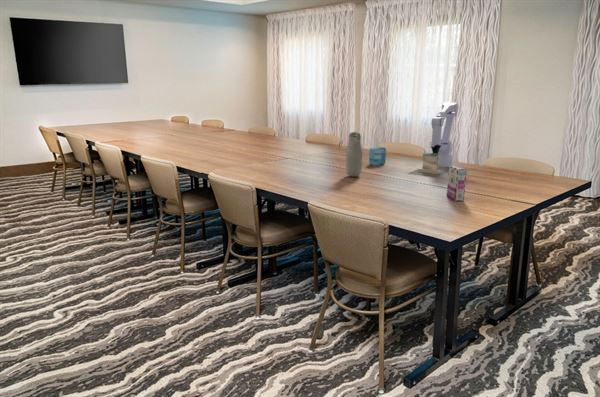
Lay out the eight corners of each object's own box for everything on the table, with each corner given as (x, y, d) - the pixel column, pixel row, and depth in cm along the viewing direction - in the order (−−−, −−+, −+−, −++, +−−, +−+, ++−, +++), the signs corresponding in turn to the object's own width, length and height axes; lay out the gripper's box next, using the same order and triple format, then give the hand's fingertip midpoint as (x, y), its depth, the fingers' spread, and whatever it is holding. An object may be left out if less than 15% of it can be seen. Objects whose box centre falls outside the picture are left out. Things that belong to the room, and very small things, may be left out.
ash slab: (424, 170, 307) (425, 152, 304) (437, 172, 302) (439, 153, 299) (422, 171, 304) (423, 153, 301) (435, 173, 299) (437, 154, 296)
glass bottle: (344, 177, 290) (344, 132, 282) (348, 174, 299) (349, 130, 292) (359, 178, 286) (360, 133, 279) (363, 175, 296) (364, 131, 288)
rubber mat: (419, 169, 314) (419, 165, 313) (448, 172, 303) (448, 168, 302) (407, 174, 297) (407, 170, 297) (437, 178, 286) (438, 174, 286)
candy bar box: (464, 201, 233) (467, 169, 229) (454, 201, 233) (457, 169, 229) (455, 195, 244) (457, 165, 240) (446, 196, 244) (448, 165, 240)
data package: (373, 165, 327) (373, 148, 324) (368, 164, 330) (369, 148, 327) (385, 164, 333) (386, 147, 330) (380, 163, 337) (381, 146, 334)
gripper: (434, 134, 312) (433, 154, 315) (426, 136, 300) (425, 157, 304) (444, 134, 308) (443, 155, 311) (437, 137, 296) (436, 158, 300)
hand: (435, 156), depth 307 cm, fingers closed
